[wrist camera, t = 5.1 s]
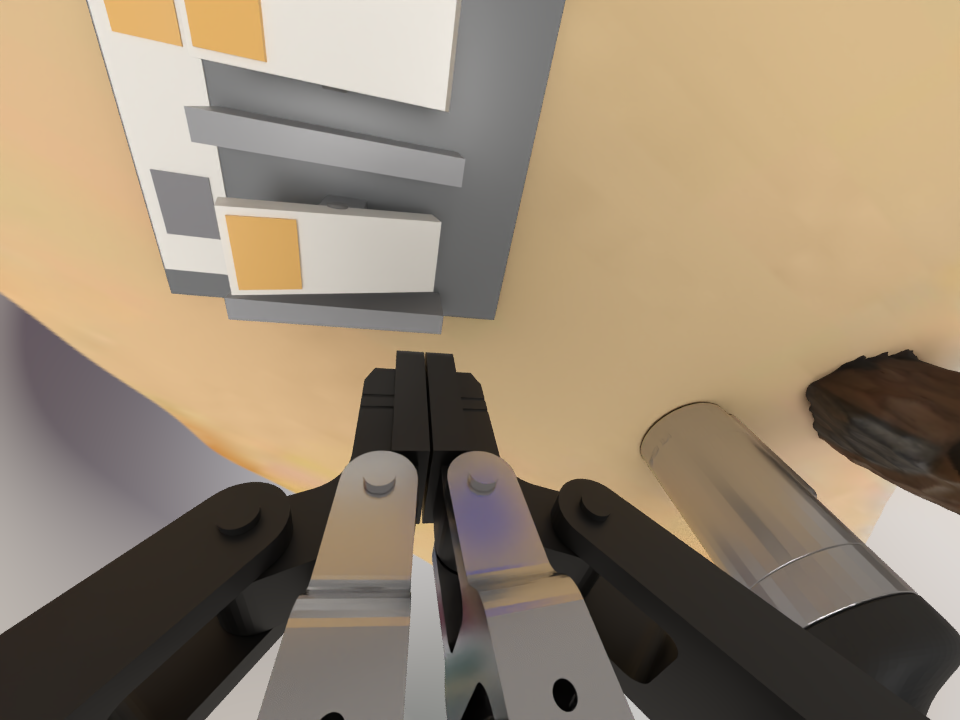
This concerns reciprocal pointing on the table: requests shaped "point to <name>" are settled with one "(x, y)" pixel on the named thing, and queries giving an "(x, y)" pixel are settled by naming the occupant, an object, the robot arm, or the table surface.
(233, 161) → the switch unit
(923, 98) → the table surface
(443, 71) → the rocker middle
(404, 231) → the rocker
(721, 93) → the table surface
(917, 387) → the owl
